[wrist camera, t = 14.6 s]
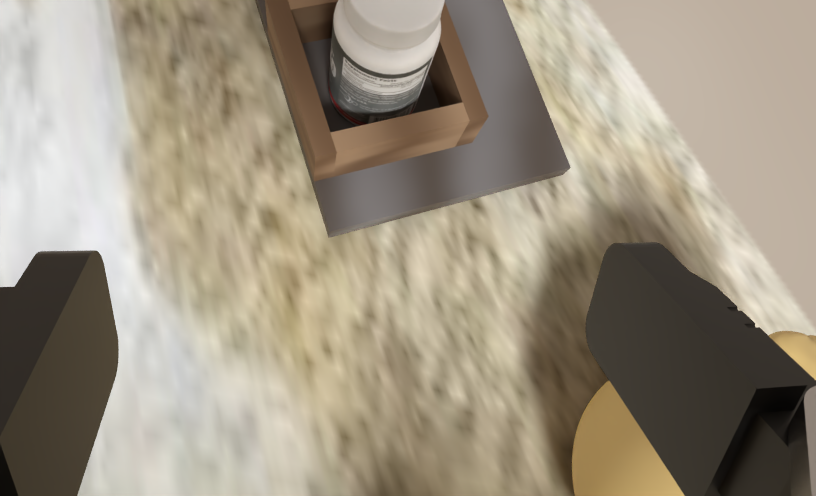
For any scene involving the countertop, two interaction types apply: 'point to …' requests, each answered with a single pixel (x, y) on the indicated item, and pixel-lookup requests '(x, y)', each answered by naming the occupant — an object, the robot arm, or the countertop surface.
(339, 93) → the pill bottle
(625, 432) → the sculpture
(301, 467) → the countertop surface
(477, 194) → the socket dock
